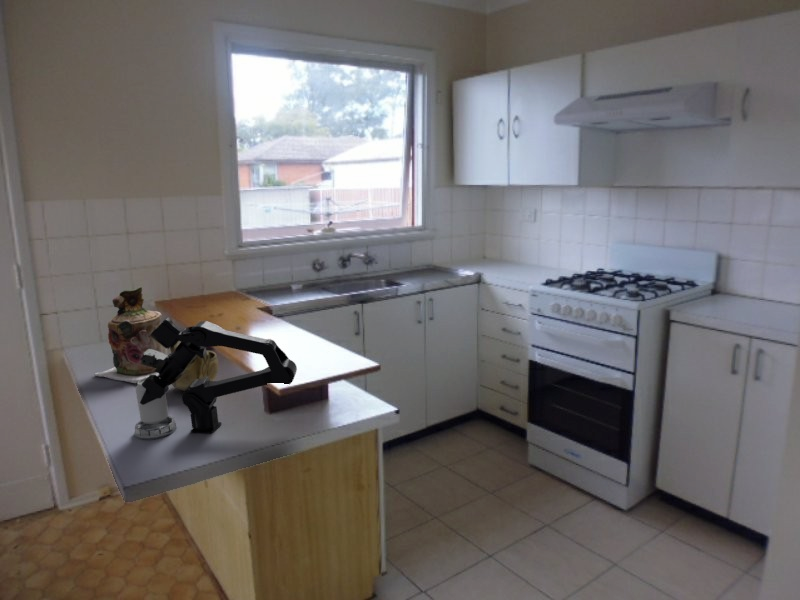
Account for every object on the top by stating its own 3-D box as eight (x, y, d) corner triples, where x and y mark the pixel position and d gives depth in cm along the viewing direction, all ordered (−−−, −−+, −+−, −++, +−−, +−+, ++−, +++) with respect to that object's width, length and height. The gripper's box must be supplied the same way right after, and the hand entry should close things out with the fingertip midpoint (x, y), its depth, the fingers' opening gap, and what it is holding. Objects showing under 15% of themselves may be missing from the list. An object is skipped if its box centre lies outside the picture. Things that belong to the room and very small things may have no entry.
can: (153, 413, 176) (147, 374, 173) (174, 415, 173) (168, 376, 171) (135, 424, 169) (128, 384, 166) (157, 426, 166) (150, 385, 164)
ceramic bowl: (155, 387, 206) (150, 346, 203) (201, 374, 218) (196, 334, 215) (186, 403, 191) (181, 359, 188) (234, 388, 203) (229, 345, 199)
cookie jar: (145, 357, 241) (134, 279, 234) (191, 363, 230) (181, 282, 223) (91, 377, 219) (77, 292, 212) (139, 386, 209) (126, 296, 201)
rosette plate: (183, 423, 176) (182, 415, 176) (163, 440, 166) (161, 432, 165) (149, 422, 178) (148, 414, 178) (127, 439, 168) (125, 430, 167)
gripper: (168, 331, 175) (136, 369, 177) (144, 350, 157) (108, 393, 159) (199, 355, 177) (167, 392, 179) (178, 377, 159) (143, 418, 161)
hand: (146, 398), depth 170 cm, fingers closed on can, 7 cm apart
